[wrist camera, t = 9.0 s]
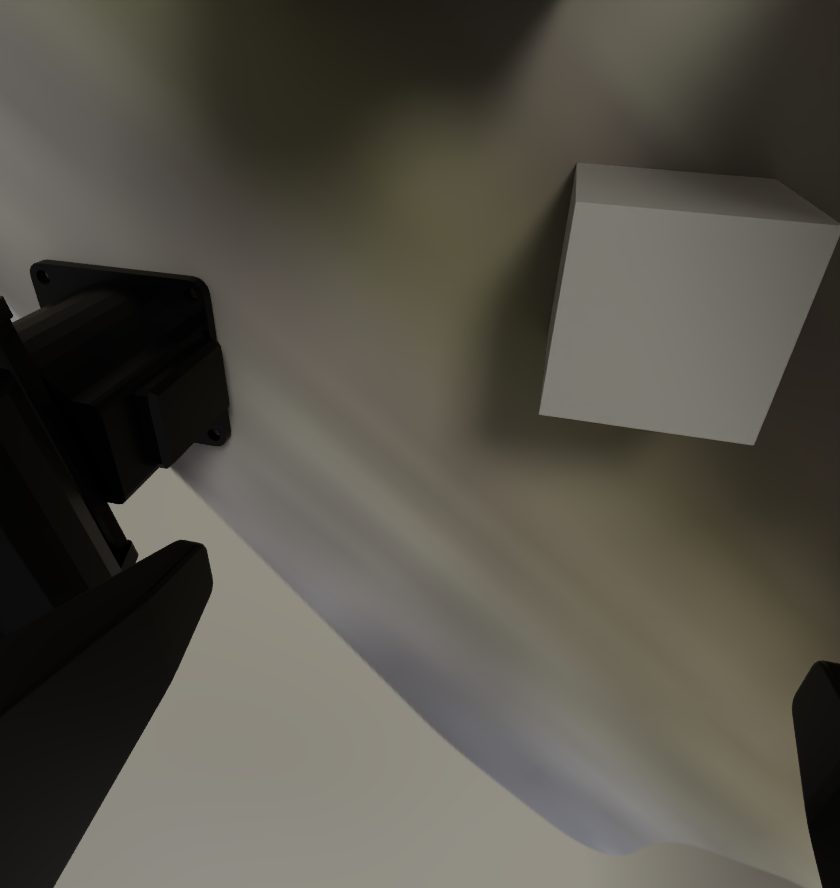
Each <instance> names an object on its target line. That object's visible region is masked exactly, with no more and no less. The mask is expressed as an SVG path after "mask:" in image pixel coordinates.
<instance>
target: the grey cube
mask: <svg viewBox="0 0 840 888" xmlns="http://www.w3.org/2000/svg"><path fill="white" fill-rule="evenodd" d="M839 236H840V223H839V222H837V221H836V220H834V219H833V218H831V217H830V216H829V215H827V214H826V213H824V212H823V211H821V210H820V209H819V208H817V207H816V206H814V205H813V204H811V203H810V202H809V201H807V200H806V199H804V198H803V197H801V196H800V195H798V194H797V193H796V192H794V191H793V190H791V189H790V188H788V187H787V186H786V185H784V184H783V183H781V182H780V181H778V180H777V179H771V178H758V177H746V176H734V175H722V174H709V173H697V172H685V171H673V170H660V169H648V168H636V167H624V166H611V165H599V164H587V163H577V165H576V171H575V176H574V182H573V188H572V194H571V200H570V206H569V212H568V218H567V224H566V230H565V236H564V242H563V248H562V253H561V259H560V265H559V271H558V277H557V283H556V289H555V295H554V301H553V307H552V313H551V319H550V324H549V330H548V336H547V345H546V354H545V363H544V372H543V382H542V391H541V400H540V409H539V415H546V416H552V417H559V418H566V419H573V420H580V421H587V422H594V423H601V424H608V425H615V426H622V427H629V428H636V429H643V430H650V431H656V432H663V433H670V434H677V435H684V436H691V437H698V438H705V439H712V440H719V441H726V442H733V443H740V444H747V445H754V444H755V441H756V439H757V436H758V434H759V432H760V429H761V427H762V424H763V422H764V419H765V417H766V414H767V412H768V410H769V407H770V405H771V402H772V400H773V397H774V395H775V393H776V390H777V388H778V385H779V383H780V380H781V378H782V375H783V373H784V371H785V368H786V366H787V363H788V361H789V358H790V356H791V353H792V351H793V349H794V346H795V344H796V341H797V339H798V336H799V334H800V332H801V329H802V327H803V324H804V322H805V319H806V317H807V314H808V312H809V310H810V307H811V305H812V302H813V300H814V297H815V295H816V293H817V290H818V288H819V285H820V283H821V280H822V278H823V275H824V273H825V271H826V268H827V266H828V263H829V261H830V258H831V256H832V253H833V251H834V249H835V246H836V244H837V241H838V239H839Z"/></svg>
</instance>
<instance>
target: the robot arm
mask: <svg viewBox="0 0 840 888" xmlns="http://www.w3.org/2000/svg"><path fill="white" fill-rule="evenodd" d="M45 272H46V273H47V274H48V276H49V277H50V279H49V278H48V277H47V276H46V274H45ZM30 276H31V279H32V282H33V285H34V289H35V292H36V295H37V298H38V301H39V305H40V308H41V309H39V310H37V311H35V312H33V313H31V314H29V315H27V316H25V317H23V318H21V319H19V320H17V321H15V322H13V323H12V322H11V320H10V319H11V318H12V317H13V314H12V313H11V311H10V309H9V307H8V305H7V303H6V301H5V299H4V297H3V296H0V888H53V887H54V886H55V884H56V882H57V880H58V879H59V877H60V875H61V874H62V872H63V870H64V868H65V867H66V865H67V863H68V861H69V860H70V858H71V856H72V854H73V853H74V851H75V849H76V847H77V846H78V844H79V842H80V841H81V839H82V837H83V835H84V834H85V832H86V830H87V828H88V827H89V825H90V823H91V821H92V820H93V818H94V816H95V814H96V813H97V811H98V809H99V808H100V806H101V804H102V802H103V801H104V799H105V797H106V795H107V794H108V792H109V790H110V788H111V787H112V785H113V783H114V781H115V780H116V778H117V776H118V775H119V773H120V771H121V769H122V767H123V766H124V764H125V762H126V761H127V759H128V757H129V755H130V754H131V752H132V750H133V748H134V747H135V745H136V743H137V741H138V740H139V738H140V736H141V735H142V733H143V731H144V729H145V728H146V726H147V724H148V722H149V721H150V719H151V717H152V715H153V713H154V712H155V710H156V708H157V707H158V705H159V703H160V702H161V700H162V698H163V696H164V694H165V693H166V691H167V689H168V687H169V685H170V684H171V682H172V680H173V678H174V675H175V673H176V671H177V669H178V667H179V665H180V663H181V660H182V658H183V656H184V654H185V651H186V649H187V647H188V645H189V642H190V640H191V638H192V635H193V633H194V631H195V629H196V626H197V624H198V622H199V620H200V617H201V615H202V613H203V611H204V608H205V606H206V604H207V602H208V600H209V597H210V595H211V592H212V587H213V578H212V573H211V568H210V563H209V558H208V554H207V549H206V547H205V546H204V545H203V544H201V543H197V542H192V541H186V540H178V541H175V542H173V543H171V544H169V545H168V546H166V547H164V548H162V549H161V550H159V551H157V552H155V553H153V554H152V555H150V556H148V557H146V558H145V559H143V560H141V561H139V562H137V563H136V560H137V558H138V553H137V551H136V549H135V547H134V545H133V543H132V541H131V540H127V539H126V537H125V535H124V533H123V531H122V530H121V528H120V526H119V524H118V522H117V520H116V518H115V516H114V514H113V512H112V511H111V509H110V507H109V505H108V503H107V502H109V503H114V504H123V503H124V502H125V501H126V500H127V499H128V498H129V497H130V496H131V495H132V494H133V493H134V492H135V491H136V490H137V489H138V488H139V487H140V486H141V485H142V484H143V483H144V482H145V481H146V480H147V479H148V478H149V477H150V476H151V475H152V474H153V473H154V472H155V471H156V470H157V469H158V468H159V467H160V468H166V469H167V468H169V467H170V466H171V465H173V464H174V463H175V462H176V461H177V460H178V459H179V458H180V457H181V455H182V454H183V453H184V452H185V451H186V450H187V449H188V448H189V447H190V446H191V445H192V444H193V443H200V444H206V445H212V446H221V445H223V444H224V443H225V442H226V441H227V440H228V439H229V437H230V436H231V429H230V422H229V416H228V409H227V408H228V407H229V397H228V390H227V384H226V377H225V371H224V364H223V357H222V351H221V346H220V344H219V342H218V341H217V338H216V331H215V325H214V318H213V312H212V305H211V299H210V292H209V289H208V287H207V285H206V284H205V283H204V281H202V280H201V279H199V278H197V277H194V276H186V275H177V274H169V273H160V272H151V271H142V270H134V269H125V268H116V267H108V266H99V265H90V264H81V263H73V262H64V261H55V260H42V261H39V262H37V263H34V264H33V265H32V266H31V268H30ZM189 288H192V289H193V290H194V291H195V292H196V295H197V298H195V297H193V296H192V295H191V294H190V292H189ZM213 430H216V431H217V432H218V433H219V435H218V434H216V433H215V432H214V431H213ZM792 716H793V723H794V731H795V738H796V746H797V753H798V761H799V768H800V776H801V783H802V791H803V798H804V806H805V812H806V818H807V824H808V829H809V834H810V838H811V843H812V847H813V851H814V855H815V859H816V864H817V868H818V872H819V876H820V880H821V884H822V888H840V664H839V663H834V662H828V661H818V662H816V663H814V665H813V666H812V667H811V669H810V671H809V672H808V674H807V676H806V677H805V679H804V680H803V682H802V684H801V685H800V687H799V689H798V690H797V692H796V694H795V696H794V699H793V703H792Z"/></svg>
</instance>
